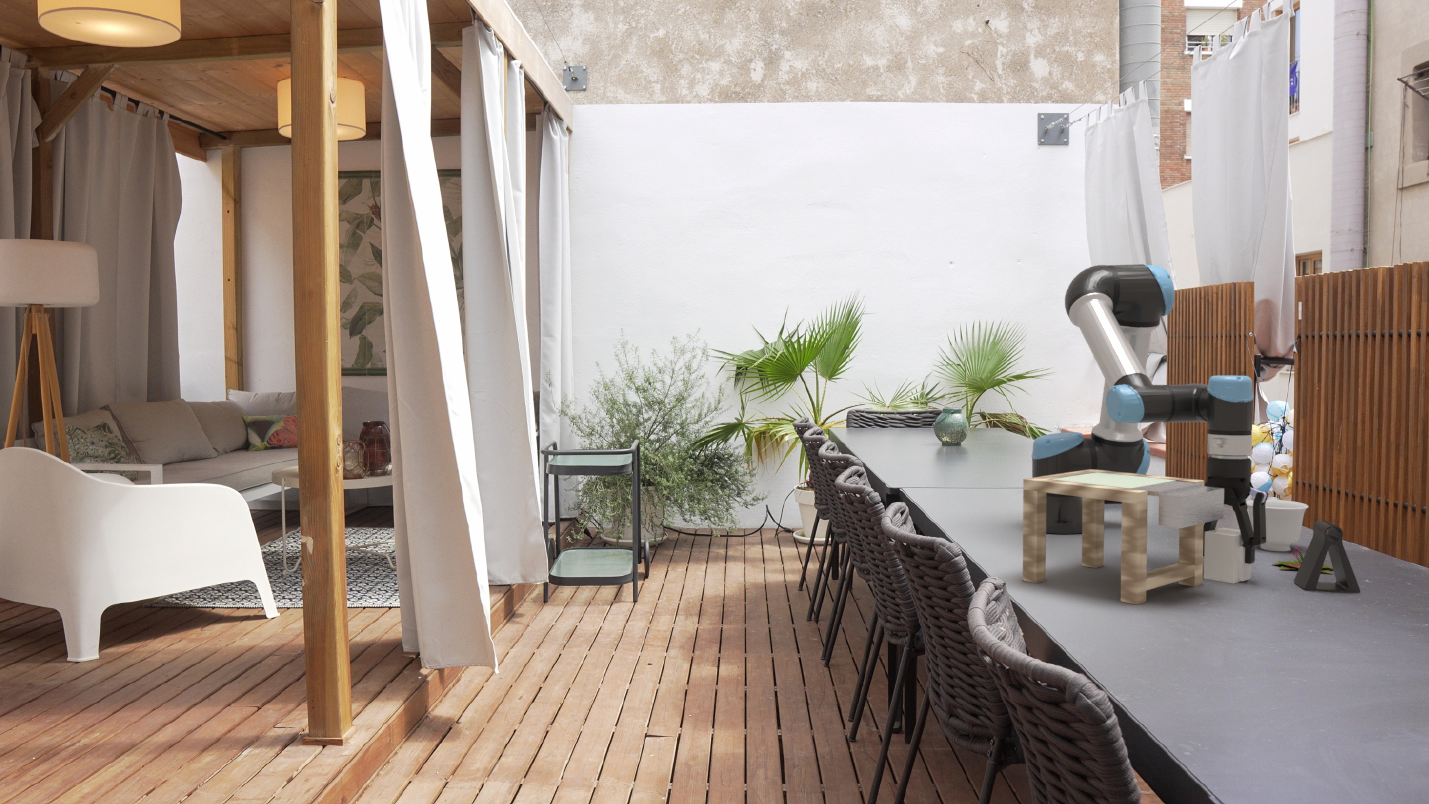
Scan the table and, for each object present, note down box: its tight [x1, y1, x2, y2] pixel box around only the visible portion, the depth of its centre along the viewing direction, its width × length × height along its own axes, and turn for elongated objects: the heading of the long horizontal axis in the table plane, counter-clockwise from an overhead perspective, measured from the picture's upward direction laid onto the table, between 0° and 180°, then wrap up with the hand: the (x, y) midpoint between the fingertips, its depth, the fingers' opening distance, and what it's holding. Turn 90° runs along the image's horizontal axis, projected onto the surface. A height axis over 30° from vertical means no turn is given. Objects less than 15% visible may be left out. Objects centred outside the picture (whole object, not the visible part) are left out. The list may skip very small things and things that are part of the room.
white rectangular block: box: [1203, 527, 1252, 585], centre depth 186 cm, size 6×7×9 cm
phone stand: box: [1293, 519, 1361, 594], centre depth 178 cm, size 9×6×12 cm, turn 76°
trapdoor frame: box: [1022, 469, 1205, 606], centre depth 184 cm, size 23×23×20 cm
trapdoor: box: [1050, 472, 1225, 529], centre depth 180 cm, size 25×16×6 cm, turn 37°
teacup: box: [1246, 498, 1309, 553], centre depth 214 cm, size 12×15×10 cm
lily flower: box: [1273, 546, 1333, 574], centre depth 194 cm, size 12×12×5 cm
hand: (1227, 576), depth 187 cm, fingers open, 6 cm apart
